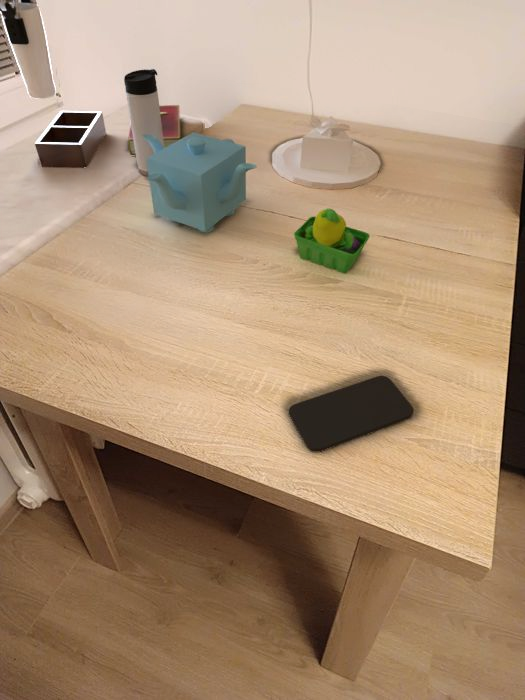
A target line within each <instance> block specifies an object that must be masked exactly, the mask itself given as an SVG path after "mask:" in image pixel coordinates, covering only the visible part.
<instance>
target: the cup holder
mask: <svg viewBox="0 0 525 700" xmlns="http://www.w3.org/2000/svg"><path fill="white" fill-rule="evenodd" d="M106 136H107V130H106V125H105V119H104V115H103V111H85V110H84V111H81V110H80V111H79V110H60V111H59V112H58V114H57V115H55V117H54V118H53V120H52V121H51V122H50V123H49V125H48V126H47V127H46V129H45V130H44V131H43V132H42V133H41V135H40V136H39V137H38V139H37V140H36V141H35V142H34V147H35V150H36V153H37V157H38V160H39V162H40V166H41V168H59V169H60V168H62V169H63V168H66V169H85V168H84V167H87V166H88V167H89V165H90V163H91V161H92V160H93V159H94V156H95V155H96V153H97V151H98V149H99V147H100V146H101V144H102V142H103V140H104V139H105V137H106ZM88 167H87V168H88Z"/></svg>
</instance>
